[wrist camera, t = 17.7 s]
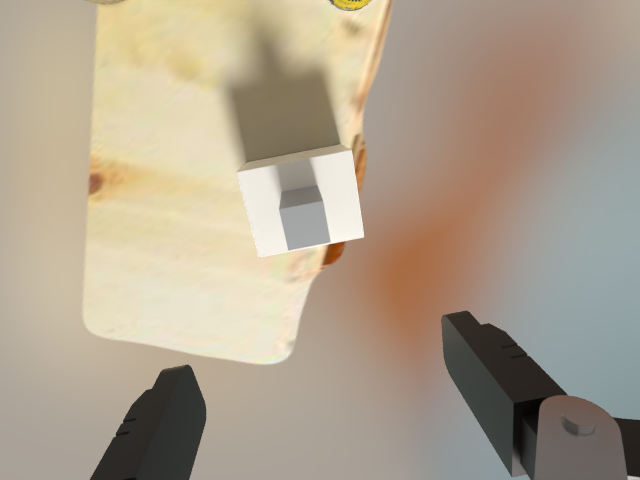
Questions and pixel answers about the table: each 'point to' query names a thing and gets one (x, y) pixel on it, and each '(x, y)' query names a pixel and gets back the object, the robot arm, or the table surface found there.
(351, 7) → the supplement bottle
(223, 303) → the table surface
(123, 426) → the robot arm
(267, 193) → the white block
